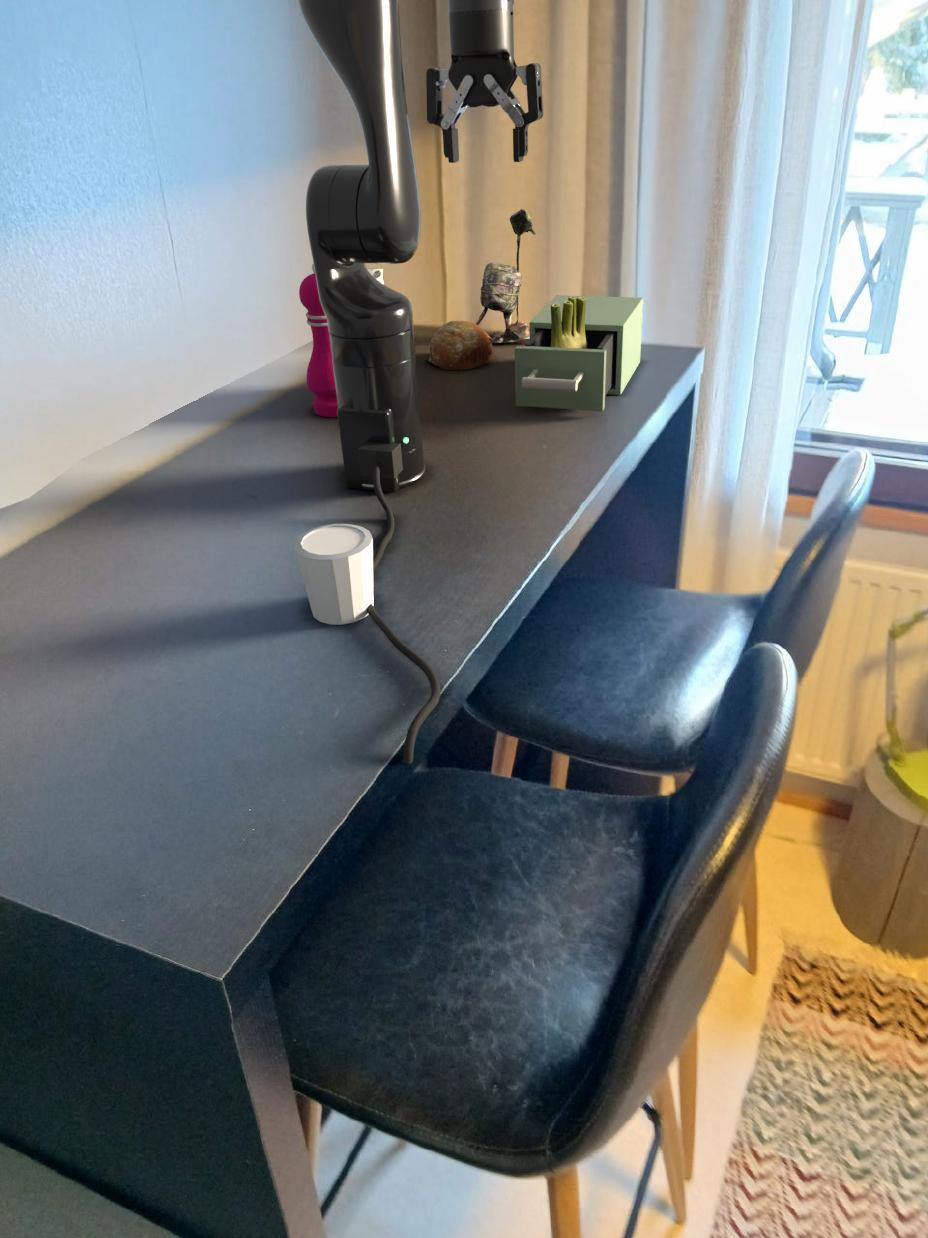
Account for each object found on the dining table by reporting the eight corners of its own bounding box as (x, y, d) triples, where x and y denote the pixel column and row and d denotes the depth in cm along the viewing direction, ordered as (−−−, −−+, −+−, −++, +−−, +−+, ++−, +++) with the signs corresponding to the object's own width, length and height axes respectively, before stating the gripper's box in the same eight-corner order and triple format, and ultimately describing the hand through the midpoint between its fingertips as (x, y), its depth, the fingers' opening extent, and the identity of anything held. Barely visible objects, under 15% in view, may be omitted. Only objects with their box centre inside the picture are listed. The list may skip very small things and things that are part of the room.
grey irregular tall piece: (486, 330, 162) (481, 206, 152) (548, 334, 158) (548, 206, 148) (469, 343, 156) (463, 214, 145) (533, 347, 152) (532, 215, 141)
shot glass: (343, 582, 89) (334, 515, 85) (395, 603, 85) (388, 534, 82) (289, 613, 85) (277, 544, 81) (342, 637, 81) (331, 566, 77)
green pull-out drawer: (593, 426, 118) (595, 365, 114) (503, 419, 122) (502, 360, 118) (623, 377, 134) (625, 322, 130) (543, 372, 138) (542, 319, 133)
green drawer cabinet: (620, 395, 130) (623, 325, 125) (530, 389, 134) (529, 322, 129) (640, 362, 143) (643, 297, 138) (556, 357, 147) (556, 294, 141)
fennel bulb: (551, 396, 125) (551, 304, 119) (543, 384, 129) (543, 295, 123) (593, 391, 126) (595, 300, 120) (584, 380, 130) (585, 292, 124)
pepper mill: (359, 417, 128) (342, 264, 117) (307, 419, 128) (285, 267, 118) (365, 400, 134) (349, 253, 123) (315, 402, 134) (295, 255, 124)
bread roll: (434, 376, 153) (411, 335, 148) (487, 342, 153) (465, 299, 148) (452, 394, 145) (427, 351, 140) (507, 358, 145) (485, 313, 140)
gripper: (412, 11, 108) (422, 166, 116) (531, 3, 103) (533, 164, 112) (434, 11, 114) (443, 158, 122) (548, 3, 109) (548, 157, 118)
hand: (486, 161), depth 117 cm, fingers open, 8 cm apart
